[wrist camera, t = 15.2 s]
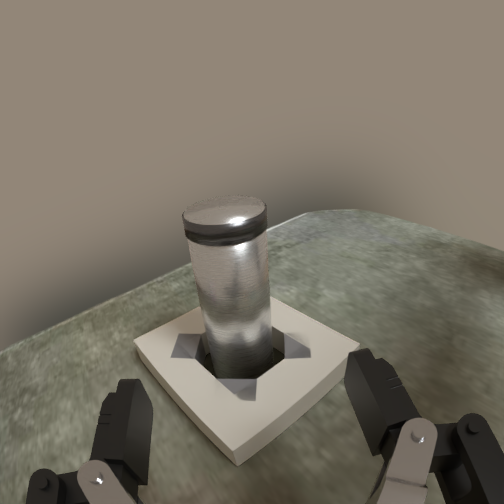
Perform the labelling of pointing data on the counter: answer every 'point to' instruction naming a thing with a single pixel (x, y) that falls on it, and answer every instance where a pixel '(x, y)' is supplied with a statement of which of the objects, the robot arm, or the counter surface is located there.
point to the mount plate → (247, 390)
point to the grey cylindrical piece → (232, 282)
